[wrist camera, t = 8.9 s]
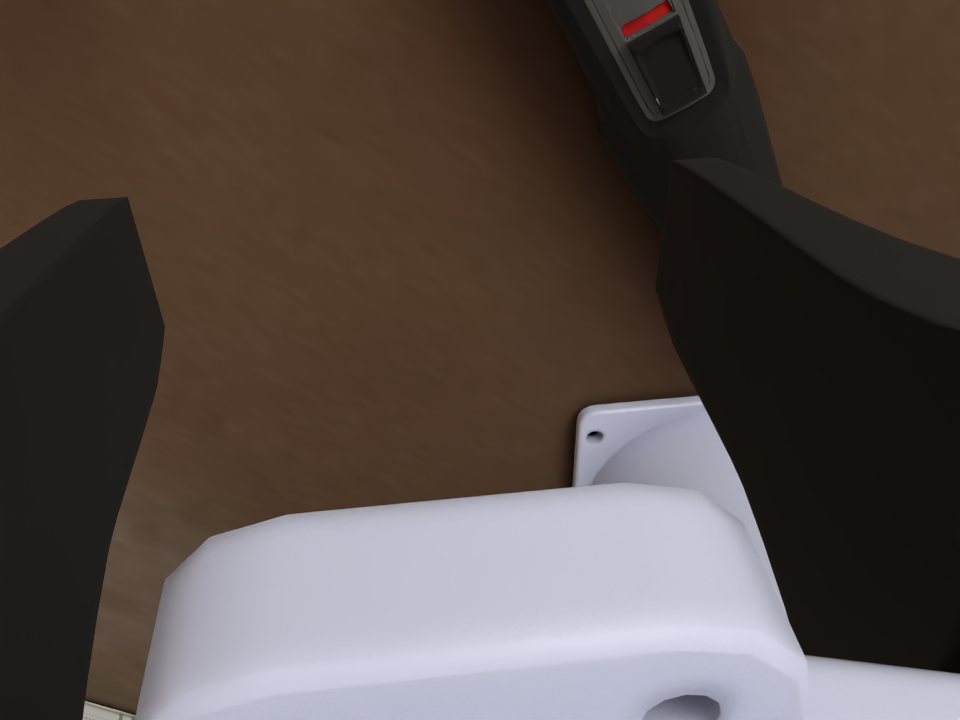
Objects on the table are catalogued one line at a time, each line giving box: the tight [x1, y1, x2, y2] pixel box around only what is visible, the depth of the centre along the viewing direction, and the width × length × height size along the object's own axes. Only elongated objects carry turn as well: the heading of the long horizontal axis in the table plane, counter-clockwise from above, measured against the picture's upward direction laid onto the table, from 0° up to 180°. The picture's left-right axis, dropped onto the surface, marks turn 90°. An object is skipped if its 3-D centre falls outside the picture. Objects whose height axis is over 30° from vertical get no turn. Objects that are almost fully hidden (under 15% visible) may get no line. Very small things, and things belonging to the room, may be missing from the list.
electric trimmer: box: [547, 0, 782, 233], centre depth 19 cm, size 4×16×3 cm, turn 29°
